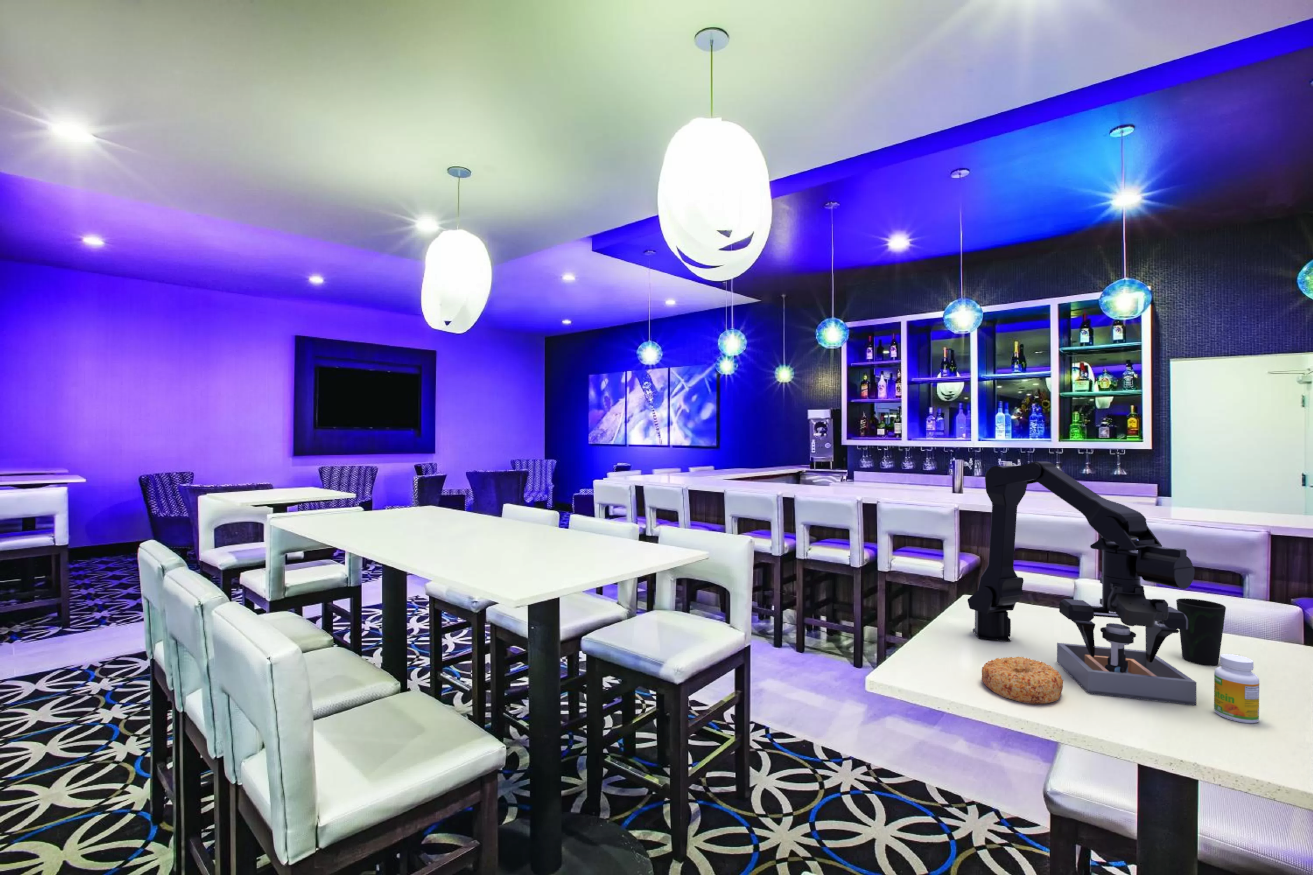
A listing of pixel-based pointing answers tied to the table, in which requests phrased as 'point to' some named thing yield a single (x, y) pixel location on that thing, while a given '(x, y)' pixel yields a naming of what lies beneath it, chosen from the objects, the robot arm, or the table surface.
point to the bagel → (1023, 680)
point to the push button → (1117, 646)
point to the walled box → (1126, 675)
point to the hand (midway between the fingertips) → (1120, 658)
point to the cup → (1201, 631)
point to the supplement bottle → (1236, 689)
